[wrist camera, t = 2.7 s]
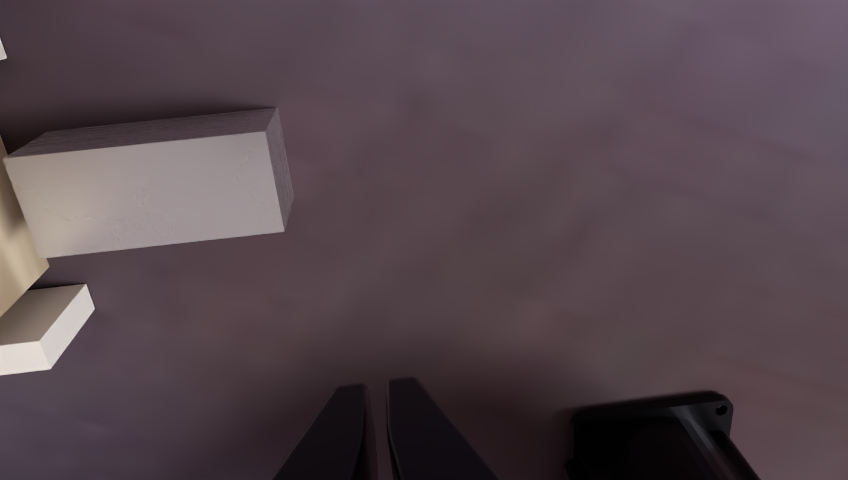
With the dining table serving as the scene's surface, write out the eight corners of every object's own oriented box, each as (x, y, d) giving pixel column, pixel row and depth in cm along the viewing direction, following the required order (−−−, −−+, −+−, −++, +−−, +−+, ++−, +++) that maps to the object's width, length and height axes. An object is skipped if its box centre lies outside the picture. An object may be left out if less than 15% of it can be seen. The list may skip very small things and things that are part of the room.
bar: (278, 105, 20) (265, 131, 18) (294, 194, 22) (284, 231, 19) (51, 129, 20) (2, 158, 17) (81, 218, 21) (40, 258, 19)
